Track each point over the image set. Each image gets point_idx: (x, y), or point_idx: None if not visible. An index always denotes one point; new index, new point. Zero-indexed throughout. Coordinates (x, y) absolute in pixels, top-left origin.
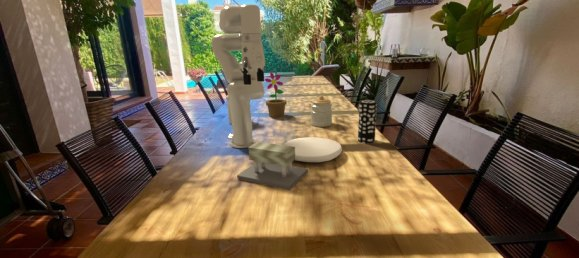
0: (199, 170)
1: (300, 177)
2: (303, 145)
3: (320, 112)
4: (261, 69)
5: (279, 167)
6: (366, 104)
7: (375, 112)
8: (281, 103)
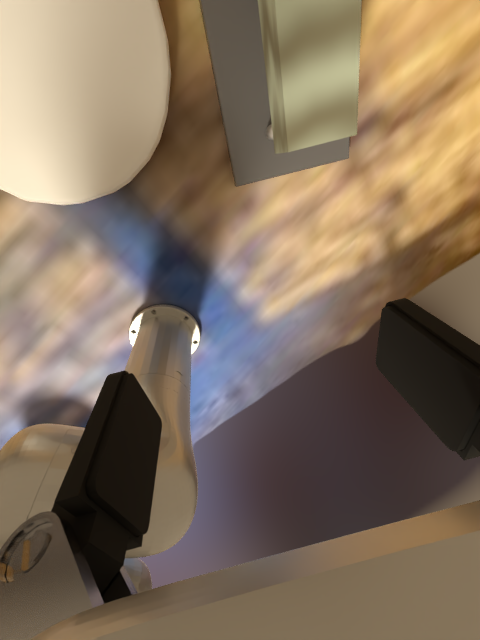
0: (339, 279)
1: None
2: (72, 54)
3: None
4: (86, 565)
5: (244, 69)
6: None
7: None
8: None
